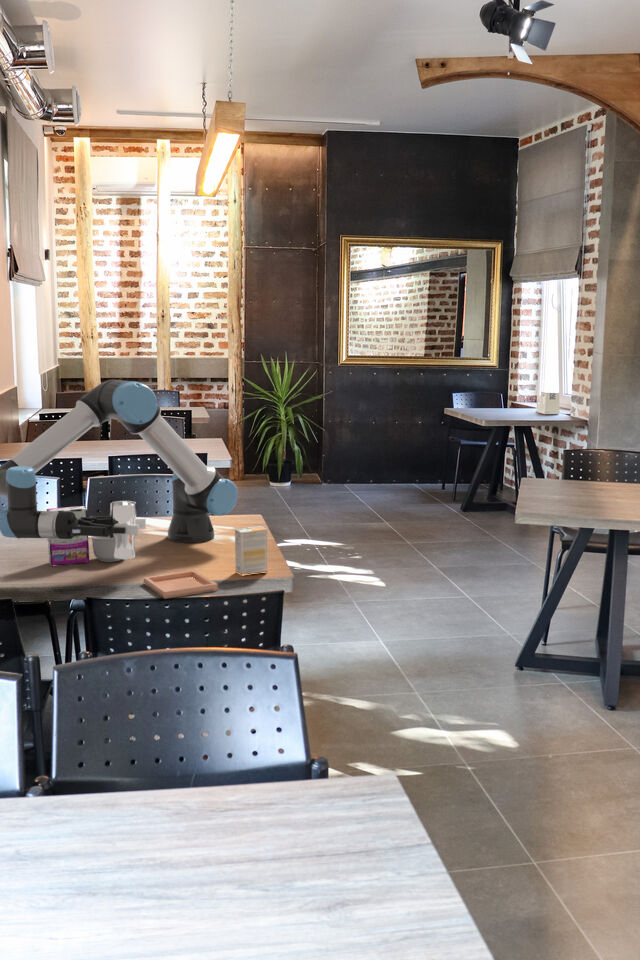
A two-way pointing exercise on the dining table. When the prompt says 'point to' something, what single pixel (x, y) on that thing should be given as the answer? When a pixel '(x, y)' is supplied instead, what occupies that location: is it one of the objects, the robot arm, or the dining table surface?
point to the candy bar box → (69, 543)
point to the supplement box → (251, 550)
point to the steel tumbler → (124, 515)
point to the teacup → (103, 548)
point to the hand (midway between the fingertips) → (141, 526)
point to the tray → (180, 584)
